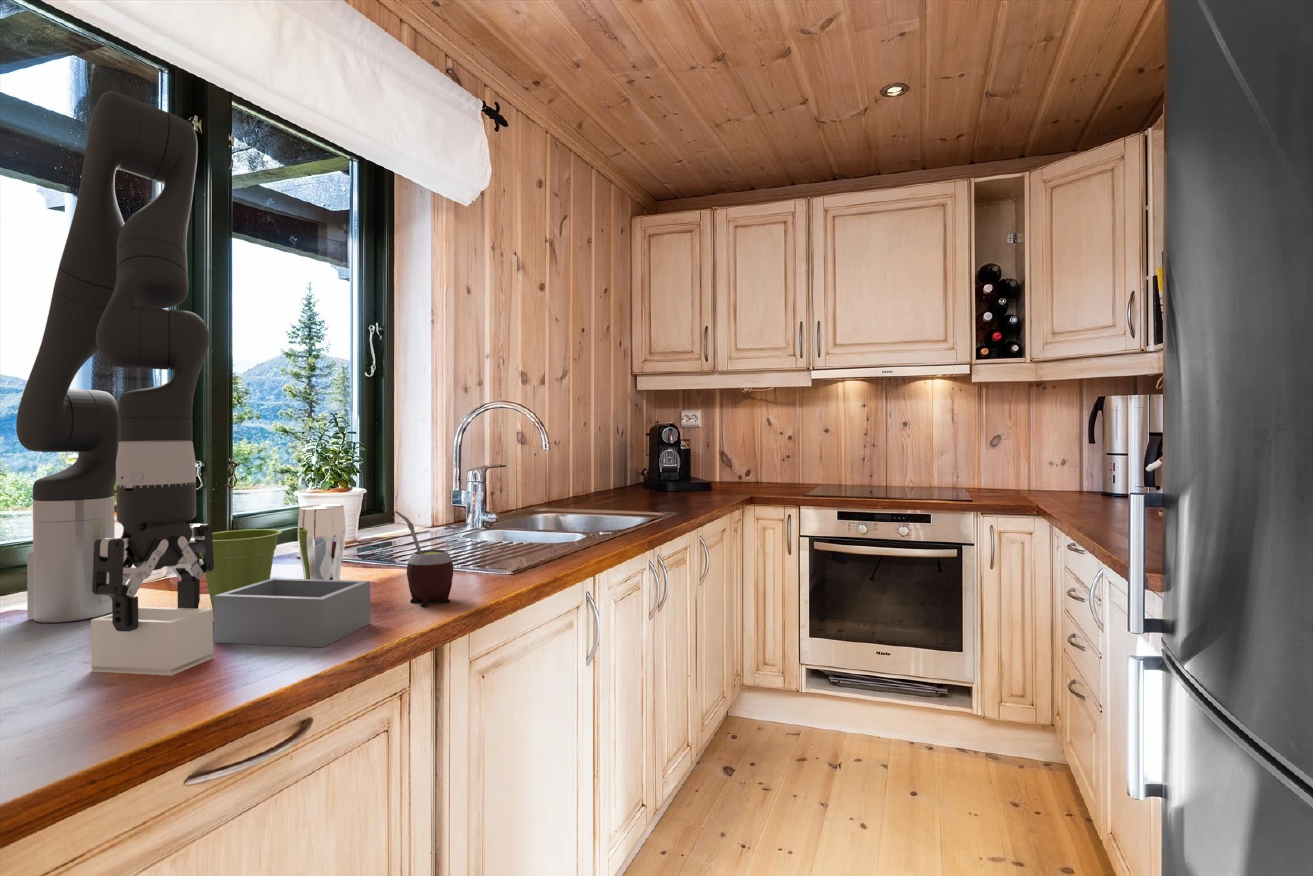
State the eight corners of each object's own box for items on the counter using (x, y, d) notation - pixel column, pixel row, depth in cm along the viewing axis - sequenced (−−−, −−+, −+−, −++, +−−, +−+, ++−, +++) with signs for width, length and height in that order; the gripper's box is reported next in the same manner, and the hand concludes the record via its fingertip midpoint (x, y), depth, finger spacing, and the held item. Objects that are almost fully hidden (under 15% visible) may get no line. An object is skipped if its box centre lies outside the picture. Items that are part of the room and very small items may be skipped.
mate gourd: (459, 597, 114) (458, 505, 114) (442, 609, 106) (442, 511, 106) (413, 597, 114) (413, 505, 114) (394, 609, 106) (394, 510, 106)
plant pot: (245, 595, 115) (244, 527, 115) (299, 601, 111) (299, 530, 111) (173, 612, 104) (173, 537, 104) (231, 620, 100) (230, 541, 100)
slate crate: (322, 647, 87) (322, 599, 87) (213, 642, 89) (213, 595, 89) (370, 623, 98) (370, 581, 98) (272, 620, 100) (272, 578, 100)
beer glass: (326, 605, 108) (326, 509, 108) (287, 603, 110) (287, 508, 110) (354, 595, 115) (354, 504, 115) (317, 593, 117) (317, 504, 116)
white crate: (171, 676, 77) (171, 622, 77) (91, 672, 78) (91, 619, 78) (212, 659, 83) (212, 609, 83) (138, 656, 84) (137, 606, 84)
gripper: (177, 477, 88) (178, 605, 88) (69, 484, 74) (71, 637, 74) (231, 476, 87) (233, 606, 87) (132, 484, 73) (134, 638, 73)
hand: (158, 620), depth 81 cm, fingers open, 8 cm apart
